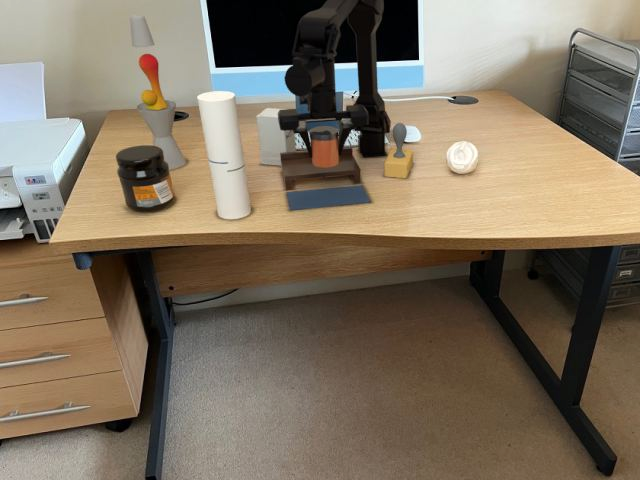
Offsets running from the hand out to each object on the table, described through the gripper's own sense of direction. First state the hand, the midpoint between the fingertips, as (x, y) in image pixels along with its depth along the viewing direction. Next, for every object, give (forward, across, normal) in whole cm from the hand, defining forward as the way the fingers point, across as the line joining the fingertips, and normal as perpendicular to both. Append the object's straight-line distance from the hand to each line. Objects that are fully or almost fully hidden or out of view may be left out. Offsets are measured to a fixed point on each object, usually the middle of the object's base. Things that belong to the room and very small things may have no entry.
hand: (325, 155), depth 127 cm
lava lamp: (+10, +37, -29) cm, 48 cm away
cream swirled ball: (+10, -35, -7) cm, 37 cm away
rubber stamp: (+10, -20, -12) cm, 26 cm away
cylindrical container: (+10, +21, +3) cm, 24 cm away
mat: (+10, 0, 0) cm, 10 cm away
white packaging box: (+10, +9, -25) cm, 29 cm away
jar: (+2, 0, 0) cm, 2 cm away
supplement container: (+10, +39, -5) cm, 41 cm away
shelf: (+10, 0, -12) cm, 15 cm away
